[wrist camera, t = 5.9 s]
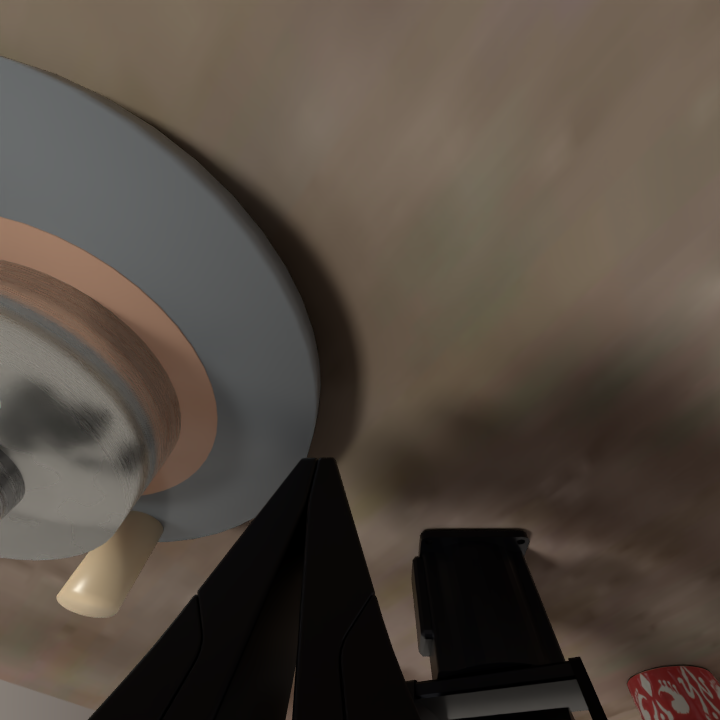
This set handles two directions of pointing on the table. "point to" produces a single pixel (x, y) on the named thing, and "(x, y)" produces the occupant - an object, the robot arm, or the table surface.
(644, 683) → the mug
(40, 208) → the turntable
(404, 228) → the table surface
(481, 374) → the table surface
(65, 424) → the cover
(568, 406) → the table surface
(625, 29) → the table surface
